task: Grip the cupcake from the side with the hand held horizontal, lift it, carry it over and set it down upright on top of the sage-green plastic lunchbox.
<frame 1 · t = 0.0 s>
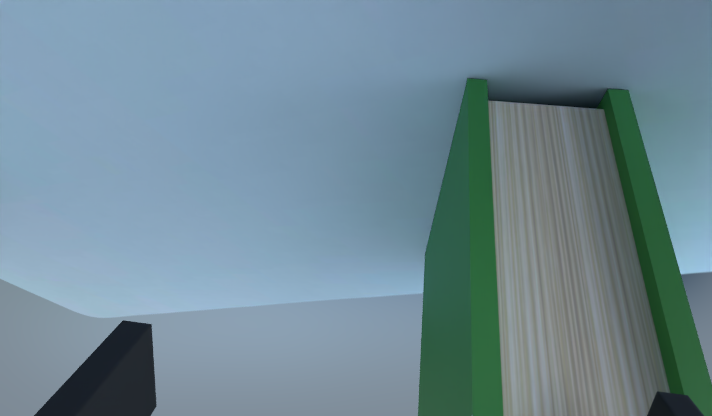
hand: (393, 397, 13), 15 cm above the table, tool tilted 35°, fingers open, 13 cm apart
hardback book: (500, 190, 30), on the table
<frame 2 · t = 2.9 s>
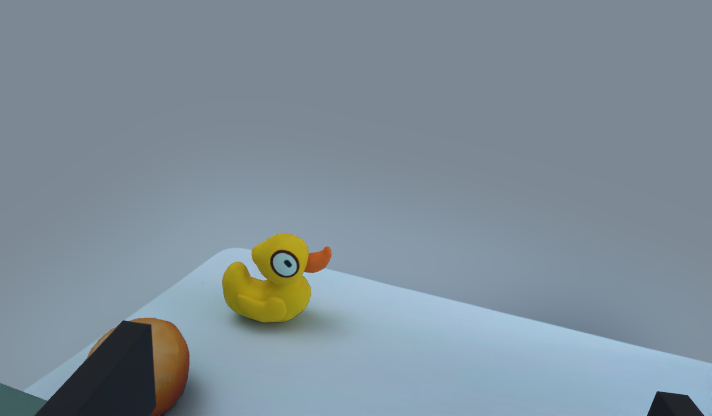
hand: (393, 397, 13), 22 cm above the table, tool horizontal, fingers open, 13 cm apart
duckling: (274, 318, 52), on the table
fruit: (144, 400, 41), on the table
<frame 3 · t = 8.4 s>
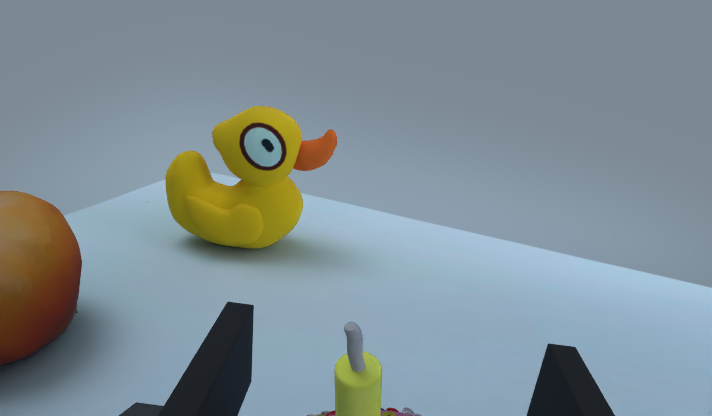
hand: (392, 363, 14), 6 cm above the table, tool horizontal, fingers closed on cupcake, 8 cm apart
duckling: (246, 246, 35), on the table
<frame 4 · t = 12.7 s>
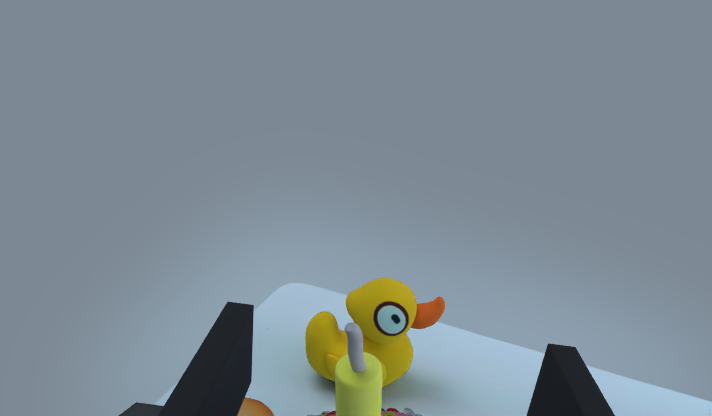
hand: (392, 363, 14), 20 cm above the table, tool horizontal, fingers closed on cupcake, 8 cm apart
duckling: (363, 381, 42), on the table
when the fingers open (13 cm above the table, at t = 16.9 s): cupcake stays where it is, resting on lunchbox.
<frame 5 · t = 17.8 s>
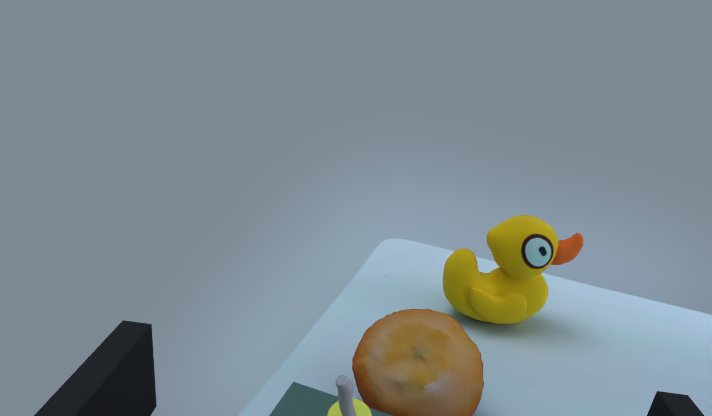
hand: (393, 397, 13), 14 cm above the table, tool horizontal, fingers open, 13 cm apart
duckling: (494, 320, 43), on the table
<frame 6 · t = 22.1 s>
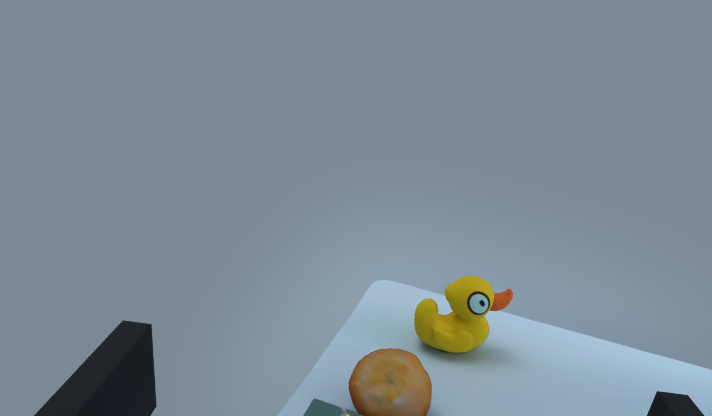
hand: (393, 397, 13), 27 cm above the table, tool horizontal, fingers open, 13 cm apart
duckling: (452, 348, 60), on the table
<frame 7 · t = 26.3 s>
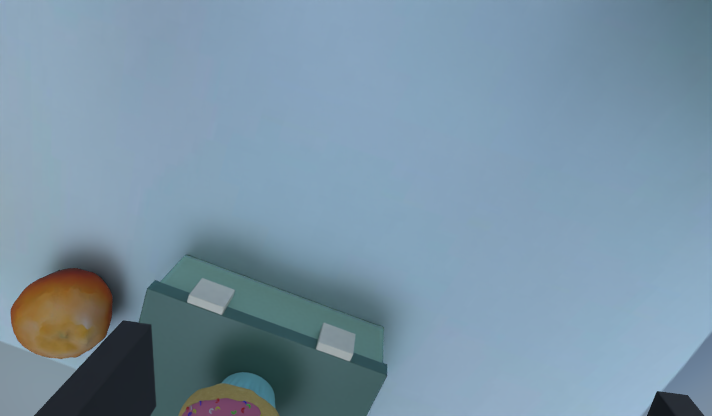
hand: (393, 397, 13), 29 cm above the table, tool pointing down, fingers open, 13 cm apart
cupcake: (246, 392, 41), point 7 cm above the table, touching lunchbox
fruit: (88, 293, 47), on the table
lunchbox: (266, 343, 47), on the table
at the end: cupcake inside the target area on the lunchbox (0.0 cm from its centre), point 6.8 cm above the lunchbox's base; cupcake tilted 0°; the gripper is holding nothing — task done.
